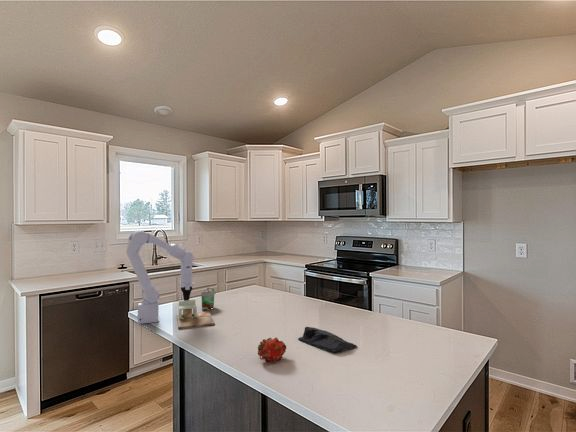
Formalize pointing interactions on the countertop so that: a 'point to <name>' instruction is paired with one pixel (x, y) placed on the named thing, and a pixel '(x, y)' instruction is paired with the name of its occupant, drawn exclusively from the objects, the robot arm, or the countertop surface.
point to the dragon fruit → (271, 349)
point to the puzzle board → (195, 321)
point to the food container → (208, 298)
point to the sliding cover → (187, 307)
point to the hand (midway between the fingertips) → (186, 301)
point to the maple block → (187, 313)
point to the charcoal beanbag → (325, 340)
